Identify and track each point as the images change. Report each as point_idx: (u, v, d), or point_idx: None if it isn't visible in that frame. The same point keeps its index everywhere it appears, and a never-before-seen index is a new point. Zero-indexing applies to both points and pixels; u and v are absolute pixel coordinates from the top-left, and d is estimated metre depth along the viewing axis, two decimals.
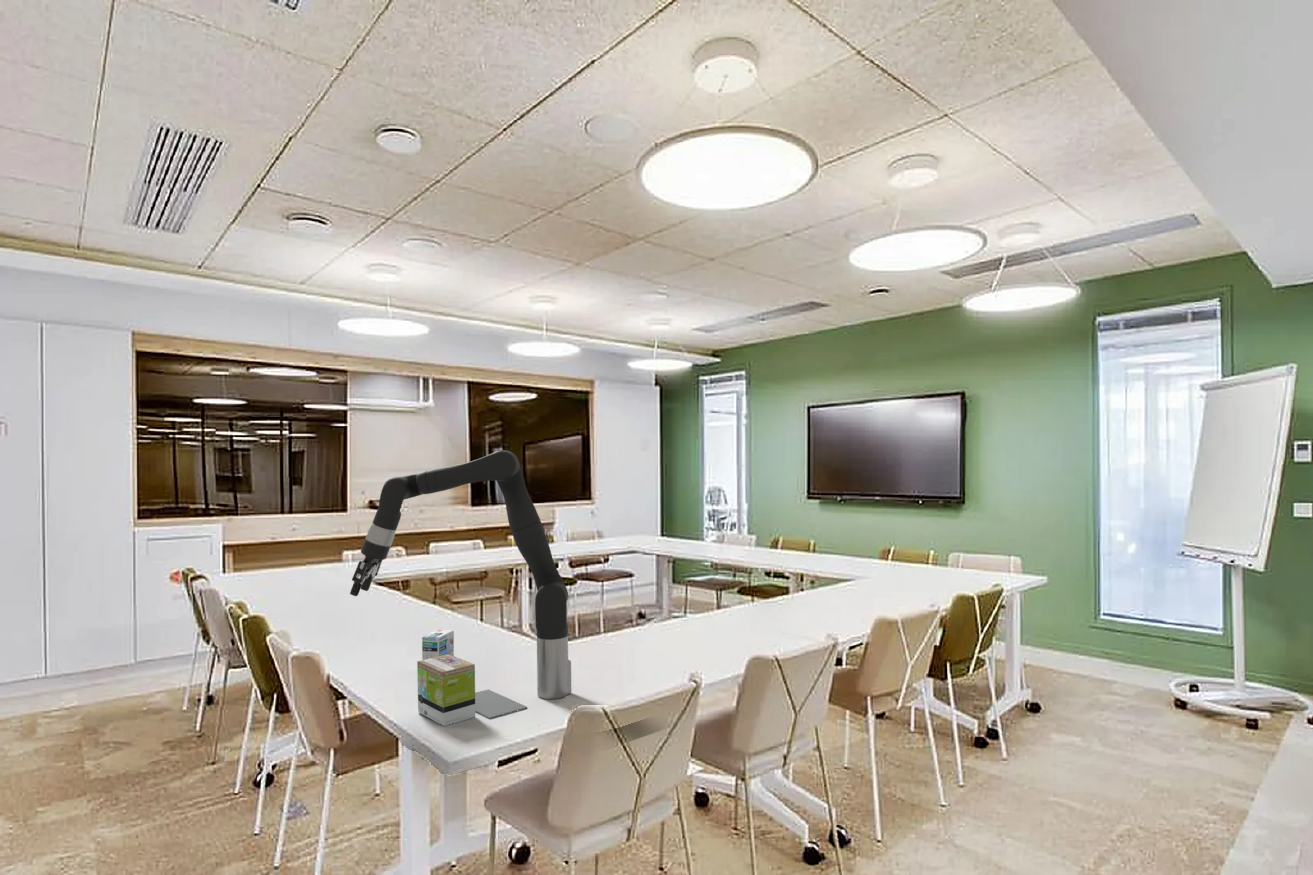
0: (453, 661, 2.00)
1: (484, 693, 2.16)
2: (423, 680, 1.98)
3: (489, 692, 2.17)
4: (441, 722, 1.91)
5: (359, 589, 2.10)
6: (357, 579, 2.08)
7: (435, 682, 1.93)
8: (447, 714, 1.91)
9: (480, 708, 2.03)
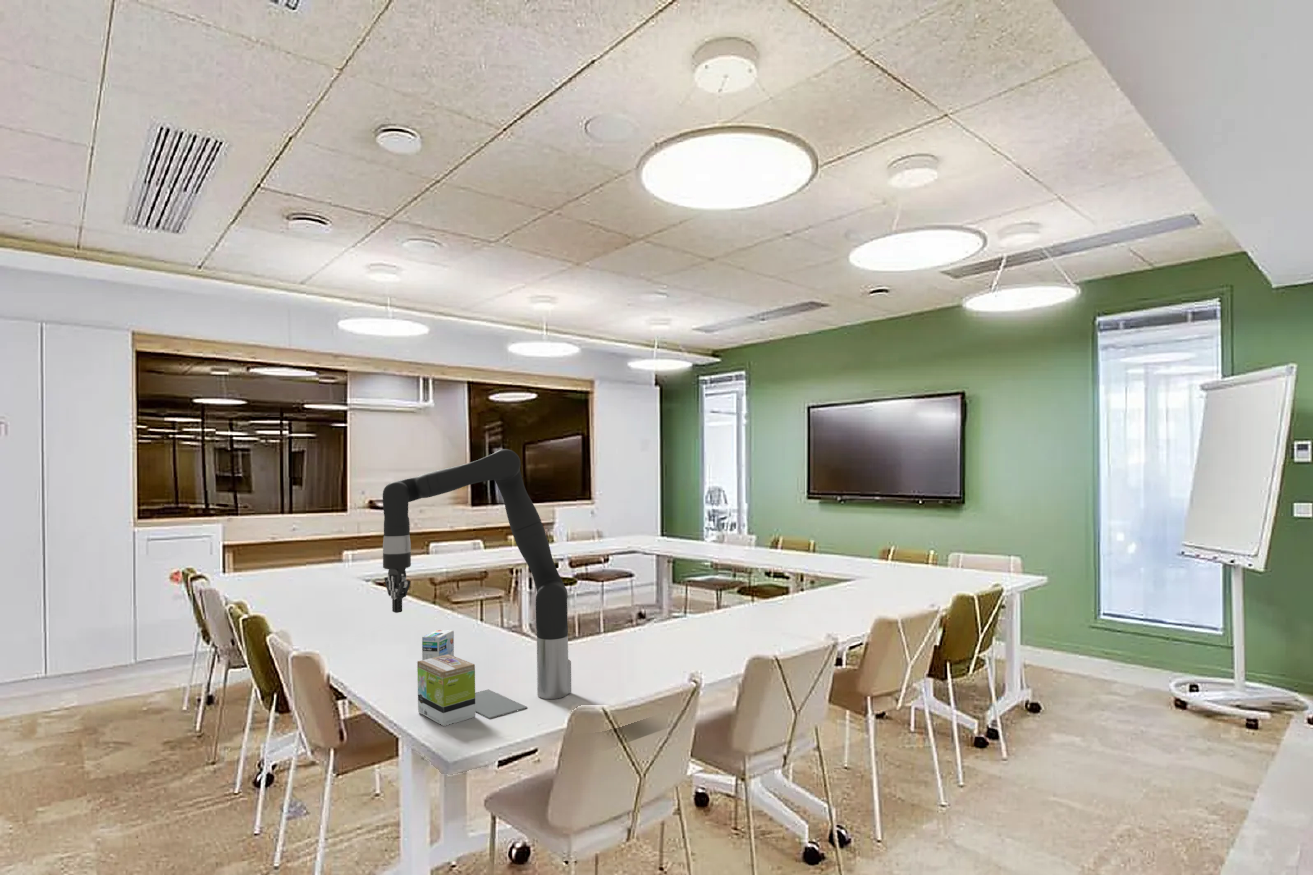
0: (453, 661, 2.00)
1: (484, 693, 2.16)
2: (423, 680, 1.98)
3: (489, 692, 2.17)
4: (441, 722, 1.91)
5: None
6: (402, 594, 2.05)
7: (435, 682, 1.93)
8: (447, 714, 1.91)
9: (480, 708, 2.03)
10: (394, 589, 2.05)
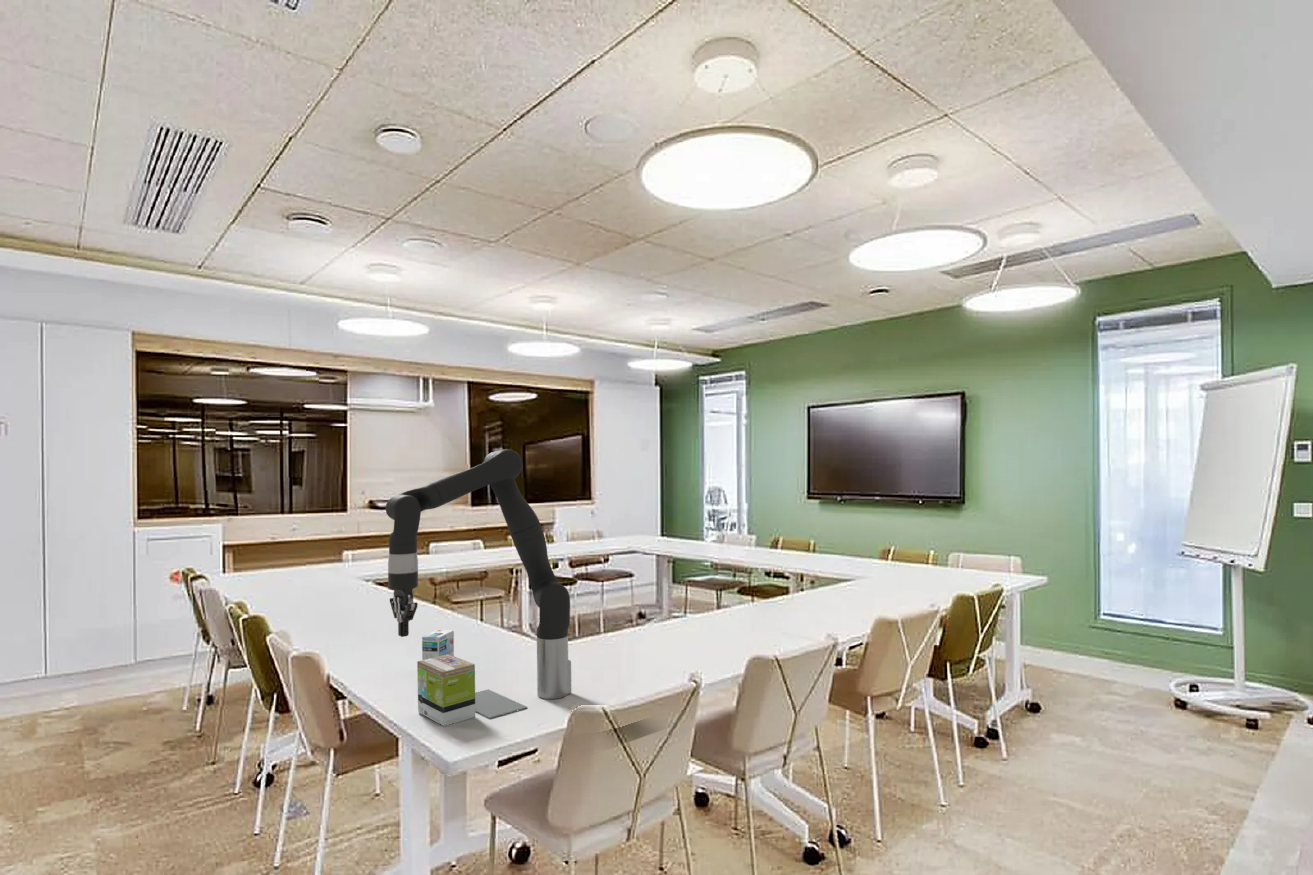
0: (453, 661, 2.00)
1: (484, 693, 2.16)
2: (423, 680, 1.98)
3: (489, 692, 2.17)
4: (441, 722, 1.91)
5: (408, 627, 1.92)
6: (408, 617, 1.90)
7: (435, 682, 1.93)
8: (447, 714, 1.91)
9: (480, 708, 2.03)
10: (400, 611, 1.90)
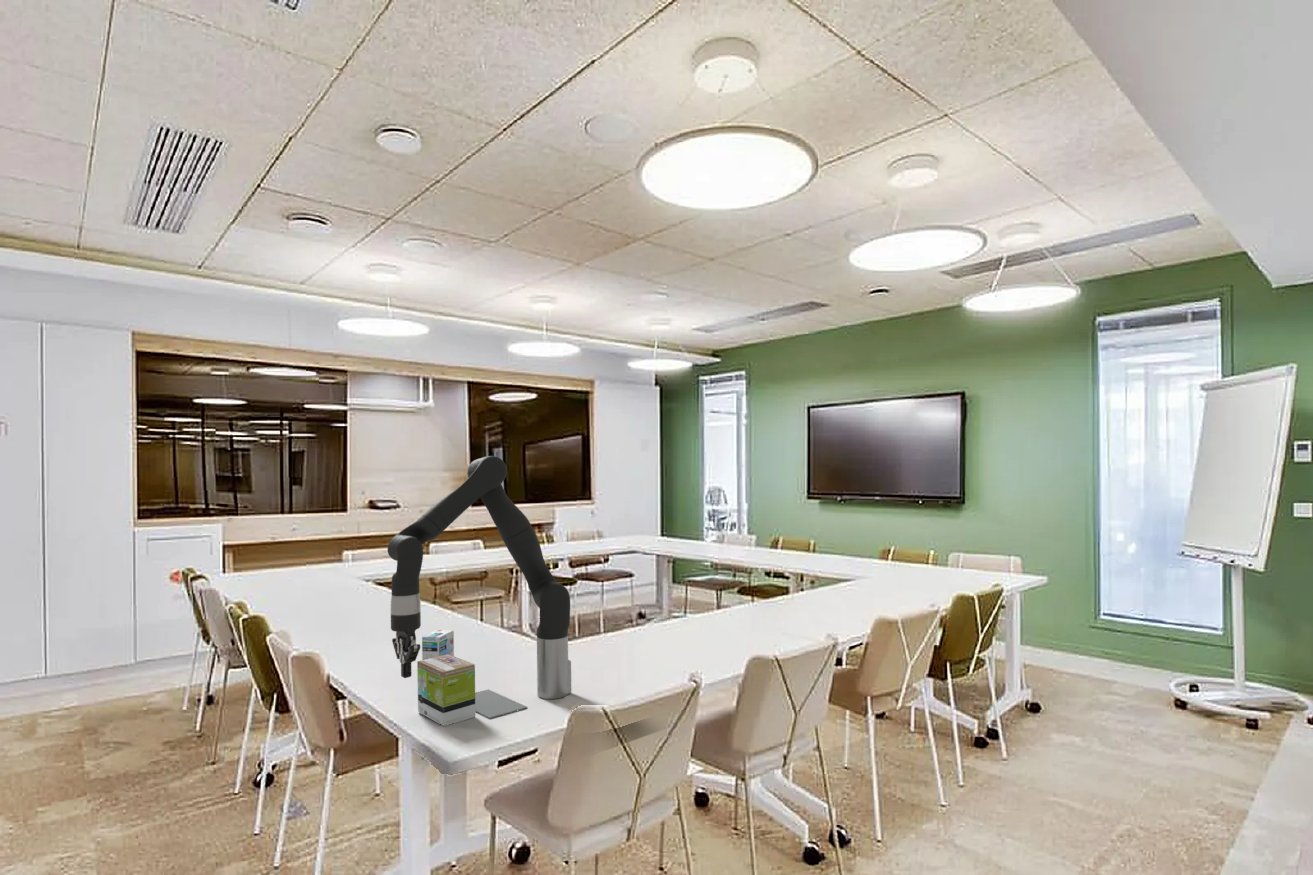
0: (453, 661, 2.00)
1: (484, 693, 2.16)
2: (423, 680, 1.98)
3: (489, 692, 2.17)
4: (441, 722, 1.91)
5: None
6: (411, 658, 1.90)
7: (435, 682, 1.93)
8: (447, 714, 1.91)
9: (480, 708, 2.03)
10: (403, 653, 1.90)
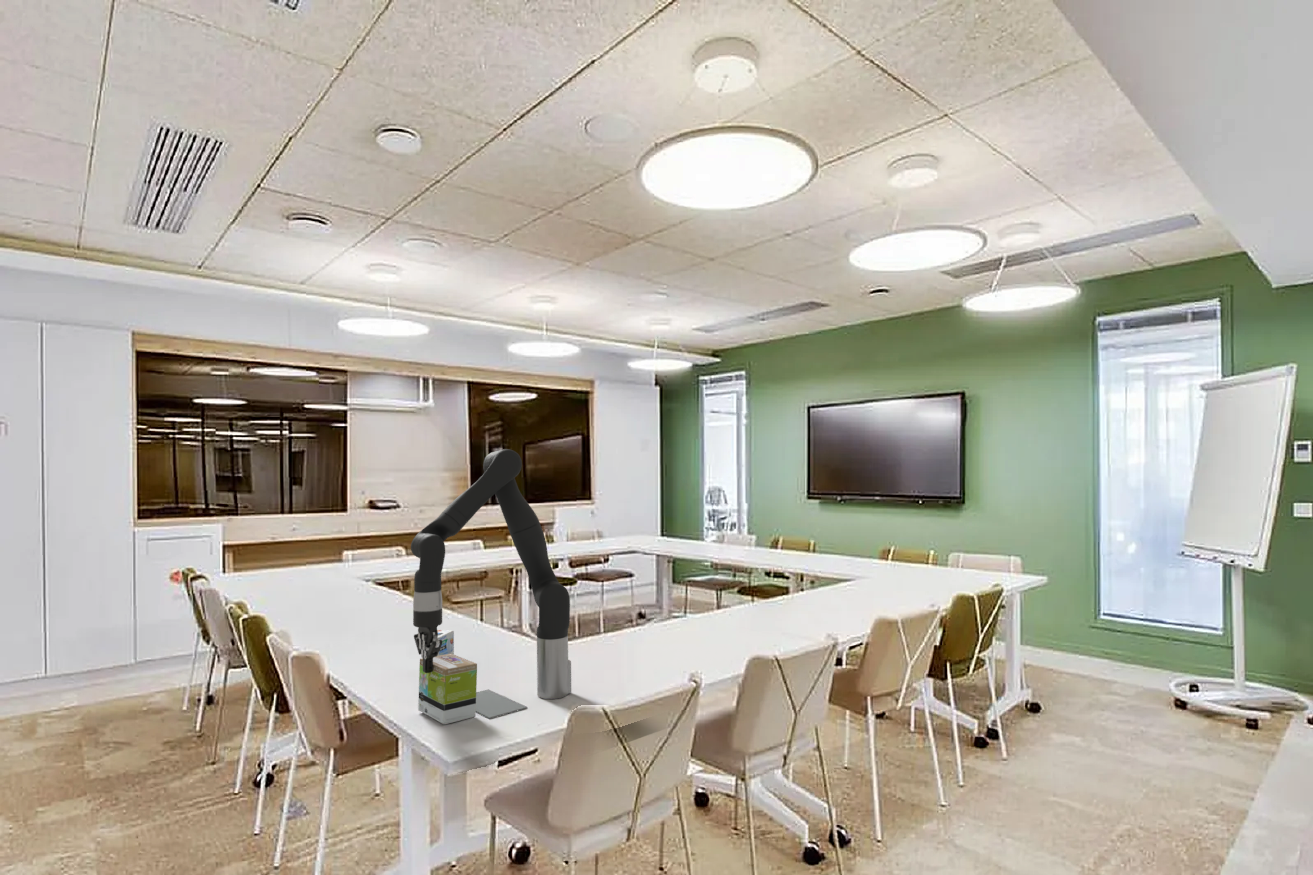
0: (455, 660, 2.00)
1: (484, 693, 2.16)
2: (425, 677, 1.99)
3: (489, 692, 2.17)
4: (441, 720, 1.91)
5: None
6: (433, 654, 1.94)
7: (437, 679, 1.94)
8: (448, 712, 1.92)
9: (480, 708, 2.03)
10: (425, 648, 1.94)
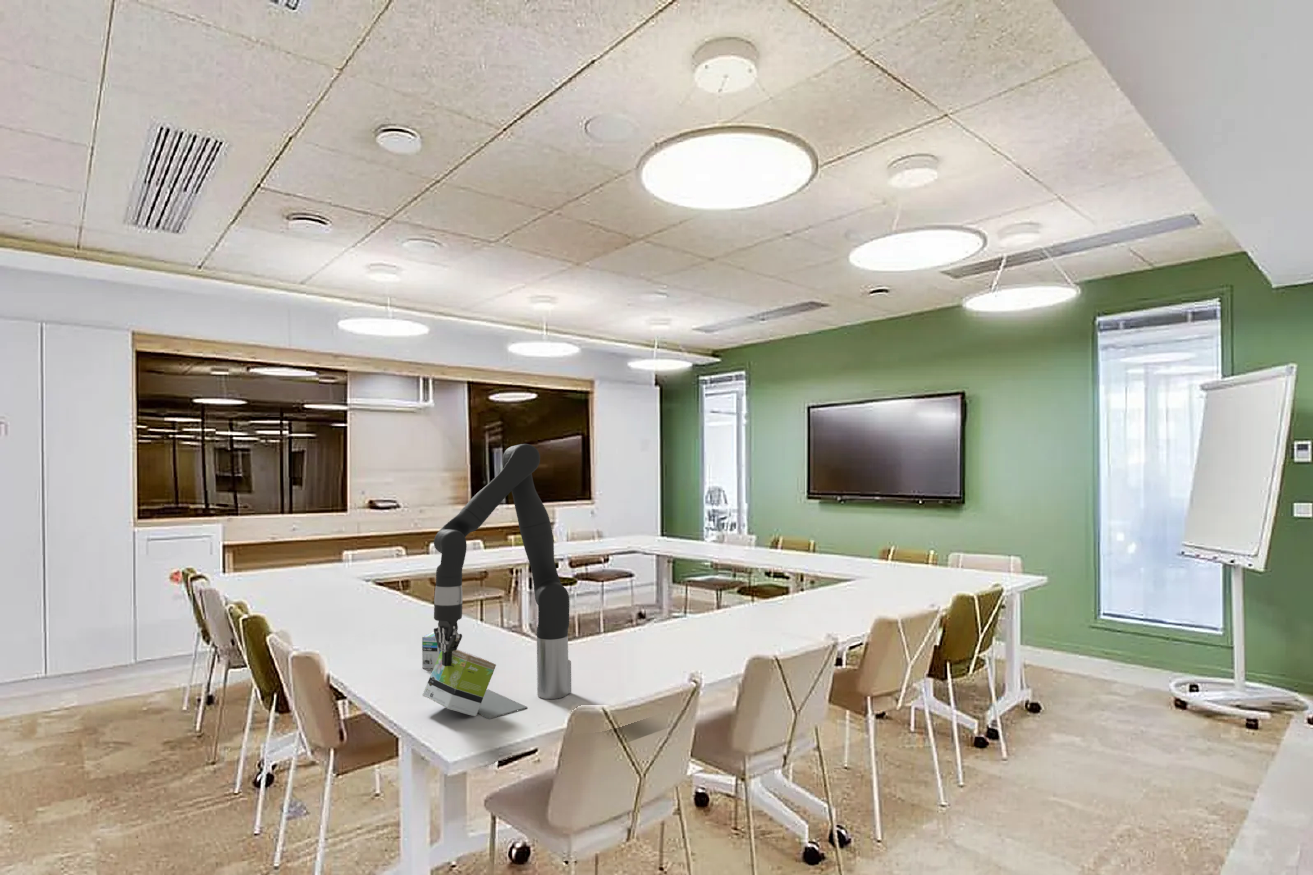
0: None
1: None
2: None
3: (489, 692, 2.17)
4: (446, 704, 1.93)
5: None
6: (453, 647, 1.98)
7: (456, 664, 1.98)
8: (455, 698, 1.93)
9: (480, 708, 2.03)
10: (445, 642, 1.98)
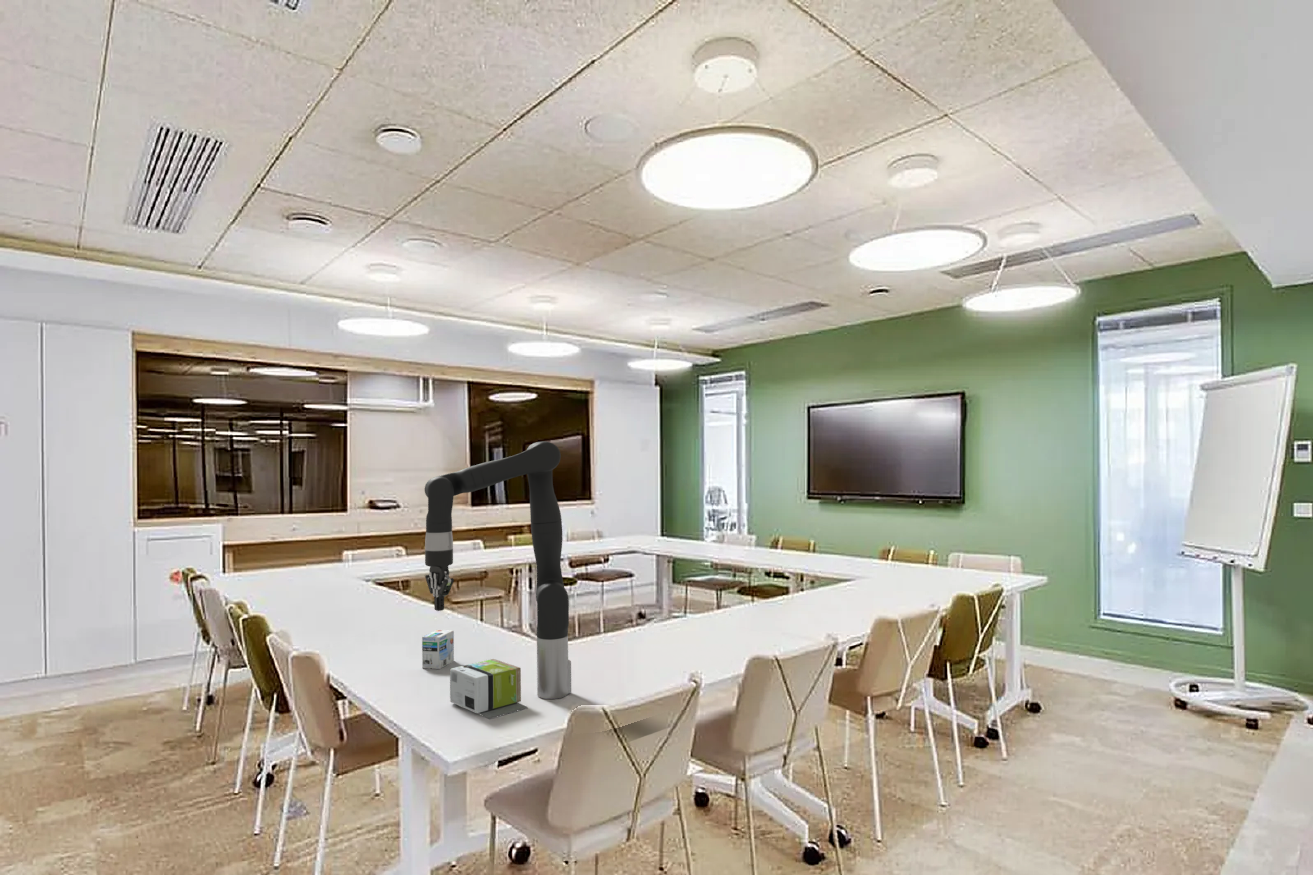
0: None
1: None
2: (488, 663, 2.13)
3: None
4: (477, 676, 1.99)
5: None
6: (445, 592, 2.01)
7: (503, 667, 2.08)
8: (485, 680, 2.00)
9: None
10: (437, 587, 2.01)
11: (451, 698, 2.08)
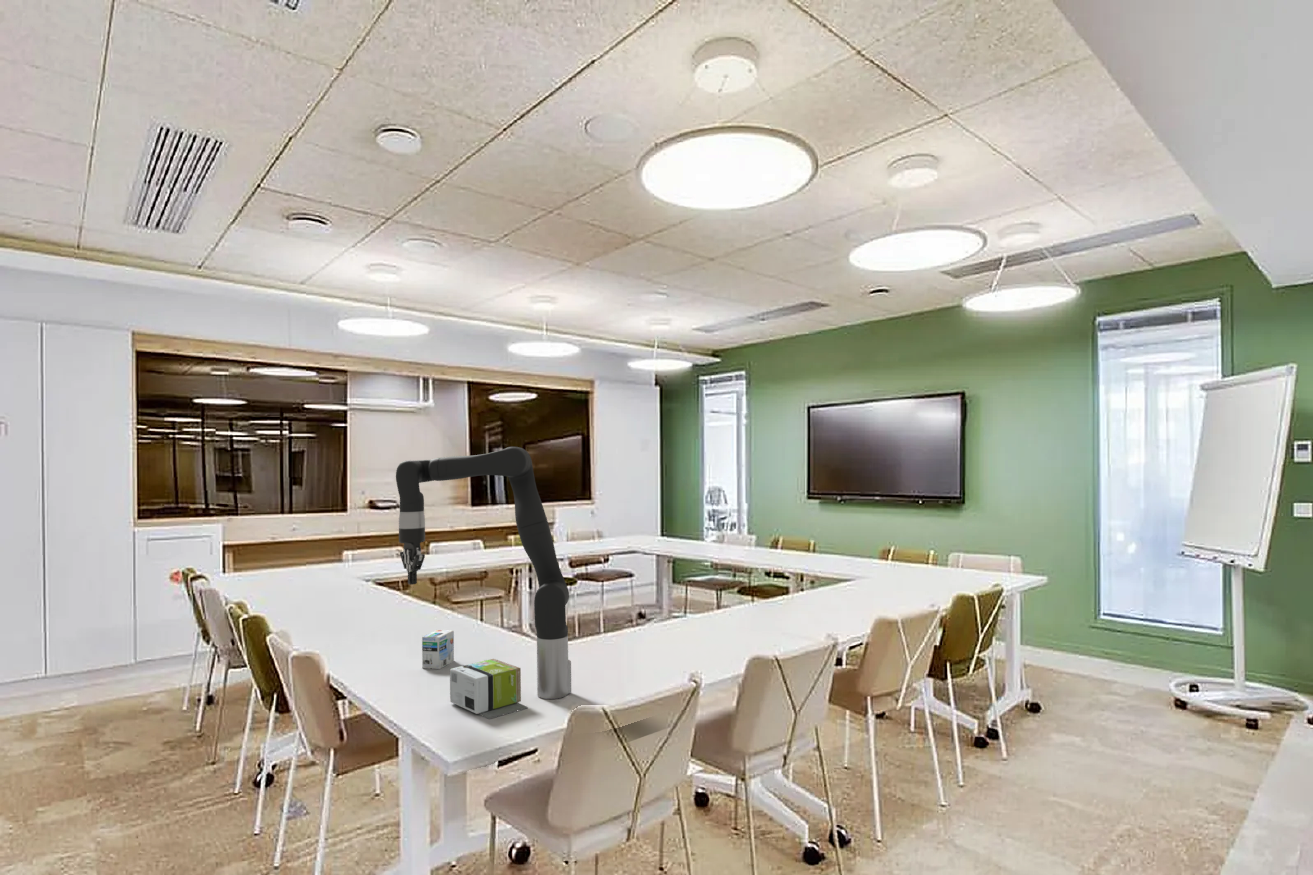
0: None
1: None
2: (488, 663, 2.13)
3: None
4: (477, 677, 1.99)
5: (416, 576, 2.19)
6: (417, 567, 2.17)
7: (503, 667, 2.08)
8: (485, 680, 2.00)
9: None
10: (409, 562, 2.17)
11: (451, 698, 2.08)
